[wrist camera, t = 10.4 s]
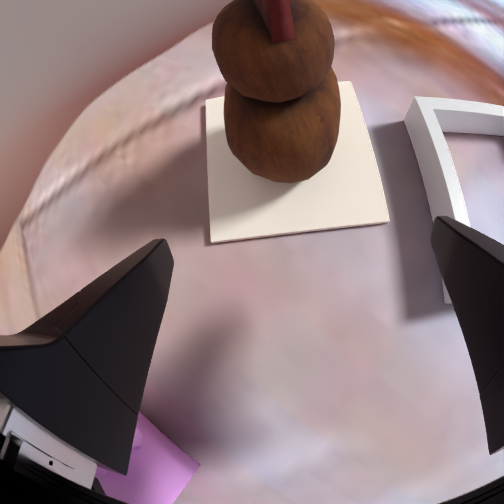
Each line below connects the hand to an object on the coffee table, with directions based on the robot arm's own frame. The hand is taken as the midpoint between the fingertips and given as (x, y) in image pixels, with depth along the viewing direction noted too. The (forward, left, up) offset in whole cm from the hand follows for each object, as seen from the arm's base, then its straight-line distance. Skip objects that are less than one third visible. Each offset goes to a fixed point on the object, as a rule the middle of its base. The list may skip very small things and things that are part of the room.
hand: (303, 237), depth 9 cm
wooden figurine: (0, +7, -8) cm, 11 cm away
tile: (0, +8, -8) cm, 11 cm away
